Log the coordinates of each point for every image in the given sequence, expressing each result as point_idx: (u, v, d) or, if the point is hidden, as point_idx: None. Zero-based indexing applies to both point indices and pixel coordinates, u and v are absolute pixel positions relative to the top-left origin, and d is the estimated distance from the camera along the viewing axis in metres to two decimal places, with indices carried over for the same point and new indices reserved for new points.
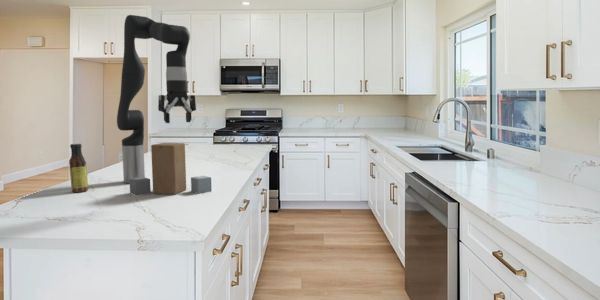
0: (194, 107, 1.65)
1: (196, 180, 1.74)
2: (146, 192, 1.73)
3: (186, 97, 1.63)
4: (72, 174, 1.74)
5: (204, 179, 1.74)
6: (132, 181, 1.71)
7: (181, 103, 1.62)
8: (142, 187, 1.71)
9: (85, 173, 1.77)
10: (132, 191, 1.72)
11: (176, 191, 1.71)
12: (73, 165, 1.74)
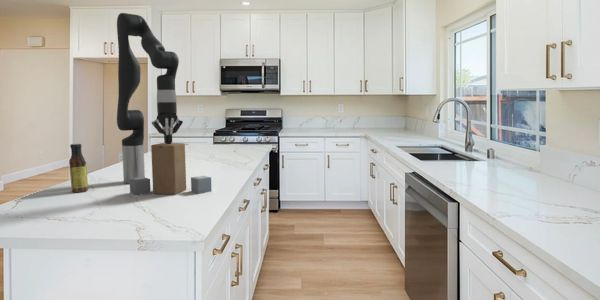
0: (176, 130, 1.75)
1: (196, 180, 1.74)
2: (146, 192, 1.73)
3: (175, 118, 1.74)
4: (72, 174, 1.74)
5: (204, 179, 1.74)
6: (132, 181, 1.71)
7: (168, 122, 1.72)
8: (142, 187, 1.71)
9: (85, 173, 1.77)
10: (132, 191, 1.72)
11: (176, 191, 1.71)
12: (73, 165, 1.74)
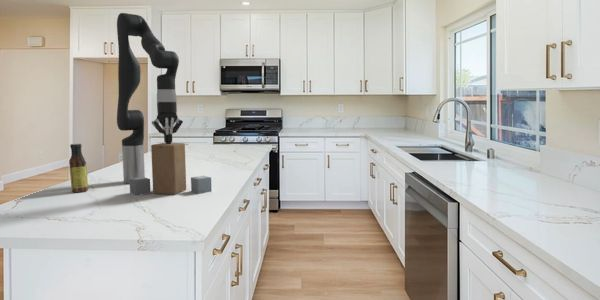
0: (176, 129, 1.75)
1: (196, 180, 1.74)
2: (146, 192, 1.73)
3: (175, 117, 1.74)
4: (72, 174, 1.74)
5: (204, 179, 1.74)
6: (132, 181, 1.71)
7: (168, 121, 1.72)
8: (142, 187, 1.71)
9: (85, 173, 1.77)
10: (132, 191, 1.72)
11: (176, 191, 1.71)
12: (73, 165, 1.74)
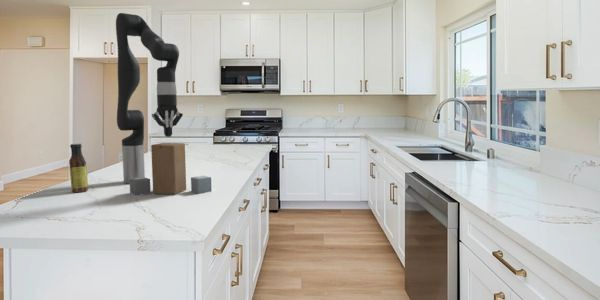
0: (176, 122, 1.74)
1: (196, 180, 1.74)
2: (146, 192, 1.73)
3: (175, 110, 1.74)
4: (72, 174, 1.74)
5: (204, 179, 1.74)
6: (132, 181, 1.71)
7: (168, 114, 1.72)
8: (142, 187, 1.71)
9: (85, 173, 1.77)
10: (132, 191, 1.72)
11: (176, 191, 1.71)
12: (73, 165, 1.74)
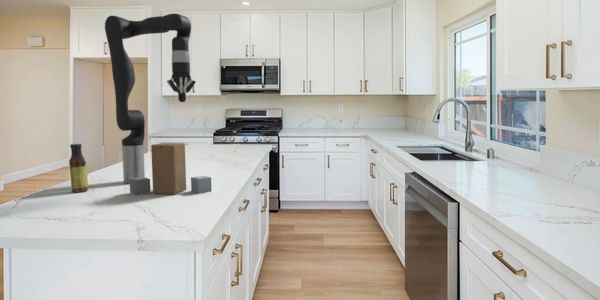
0: (189, 89, 1.88)
1: (196, 180, 1.74)
2: (146, 192, 1.73)
3: (189, 77, 1.88)
4: (72, 174, 1.74)
5: (204, 179, 1.74)
6: (132, 181, 1.71)
7: (182, 81, 1.86)
8: (142, 187, 1.71)
9: (85, 173, 1.77)
10: (132, 191, 1.72)
11: (176, 191, 1.71)
12: (73, 165, 1.74)
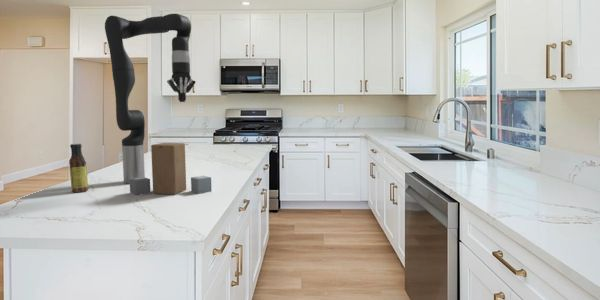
0: (189, 89, 1.88)
1: (196, 180, 1.74)
2: (146, 192, 1.73)
3: (189, 77, 1.88)
4: (72, 174, 1.74)
5: (204, 179, 1.74)
6: (132, 181, 1.71)
7: (182, 81, 1.86)
8: (142, 187, 1.71)
9: (85, 173, 1.77)
10: (132, 191, 1.72)
11: (176, 191, 1.71)
12: (73, 165, 1.74)
